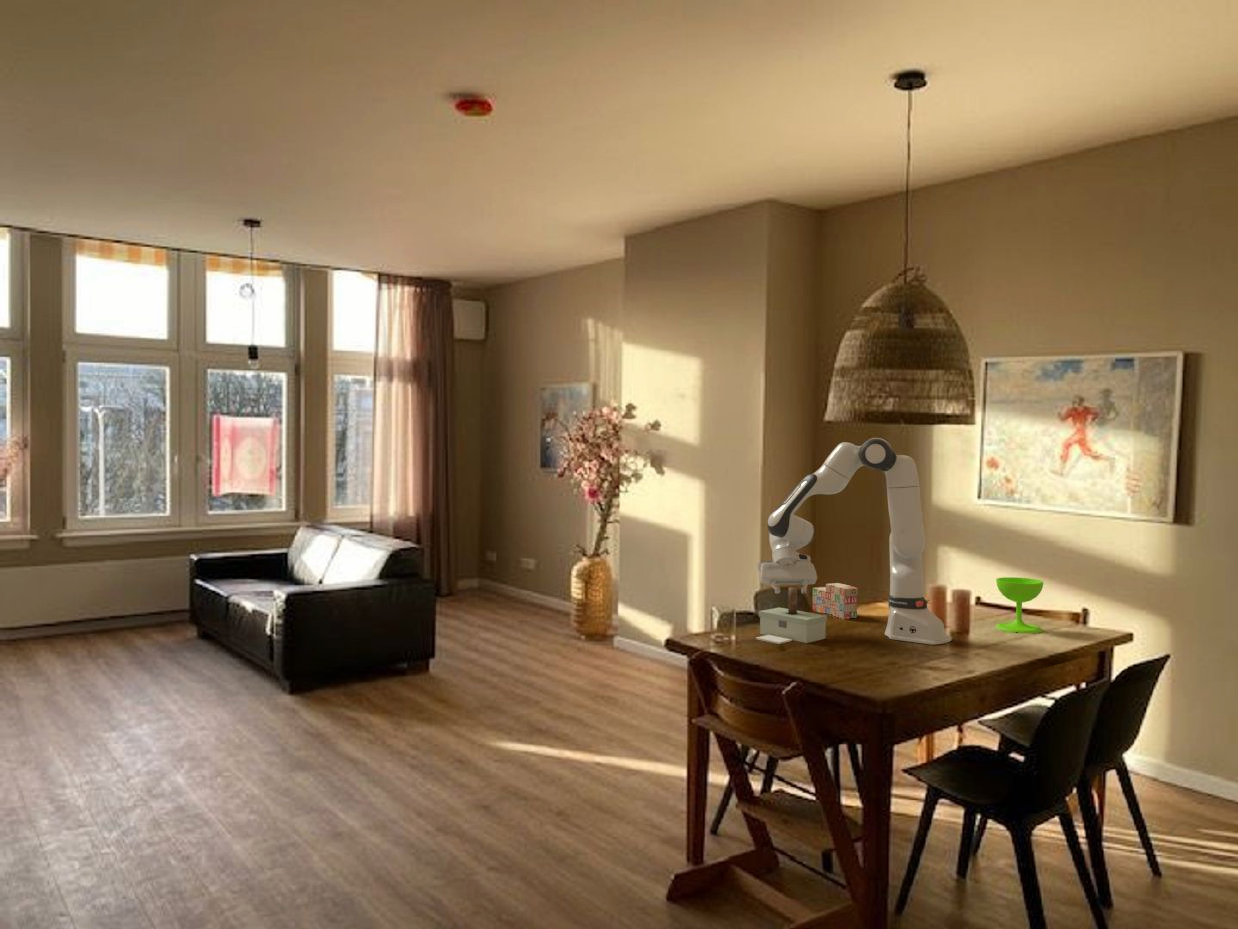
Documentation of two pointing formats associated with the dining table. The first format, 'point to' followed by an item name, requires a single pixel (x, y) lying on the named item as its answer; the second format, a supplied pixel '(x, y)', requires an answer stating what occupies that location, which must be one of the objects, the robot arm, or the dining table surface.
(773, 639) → the felt mat
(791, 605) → the walnut key
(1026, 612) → the dining table surface
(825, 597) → the stack of blocks
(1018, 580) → the wineglass
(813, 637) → the pale green lidded box
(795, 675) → the dining table surface
